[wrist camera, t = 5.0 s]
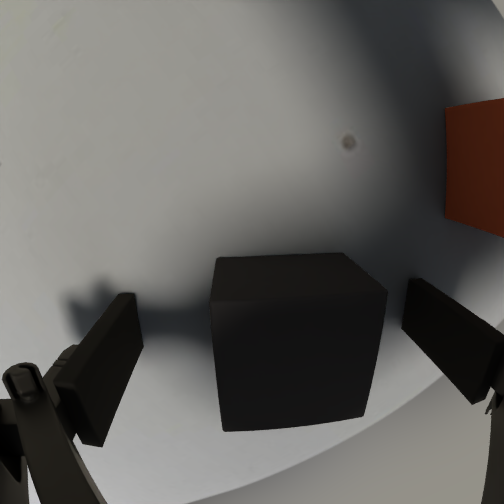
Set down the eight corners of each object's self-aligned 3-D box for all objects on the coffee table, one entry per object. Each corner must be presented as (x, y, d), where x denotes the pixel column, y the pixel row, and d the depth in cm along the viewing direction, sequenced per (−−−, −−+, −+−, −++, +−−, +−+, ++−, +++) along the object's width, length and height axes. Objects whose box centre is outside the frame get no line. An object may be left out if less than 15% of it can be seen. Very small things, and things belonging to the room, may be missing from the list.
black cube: (343, 252, 13) (389, 289, 9) (334, 357, 15) (364, 417, 11) (216, 257, 13) (208, 301, 9) (224, 366, 15) (222, 432, 10)
